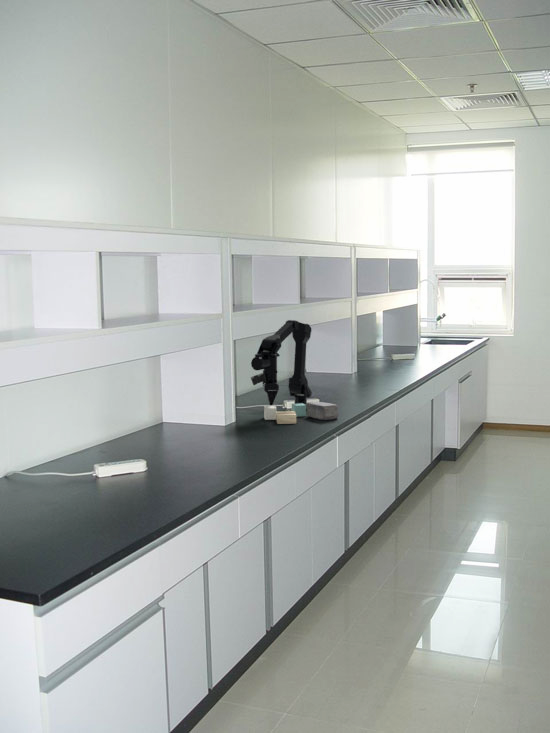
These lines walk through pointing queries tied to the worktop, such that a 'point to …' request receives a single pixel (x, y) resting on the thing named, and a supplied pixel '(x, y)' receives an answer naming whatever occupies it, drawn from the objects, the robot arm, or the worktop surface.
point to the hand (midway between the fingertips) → (270, 403)
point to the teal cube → (299, 409)
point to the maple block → (286, 417)
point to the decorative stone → (322, 410)
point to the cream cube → (270, 412)
